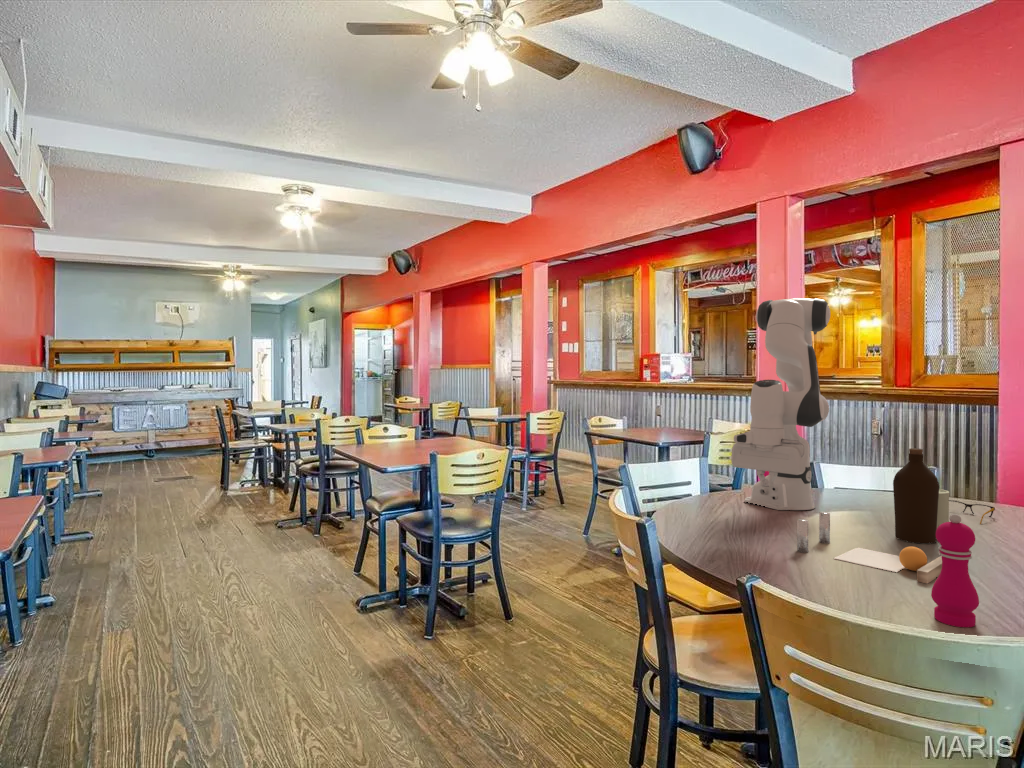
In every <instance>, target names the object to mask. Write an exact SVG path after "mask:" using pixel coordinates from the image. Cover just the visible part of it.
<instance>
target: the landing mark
mask: <svg viewBox="0 0 1024 768" xmlns="http://www.w3.org/2000/svg"><path fill="white" fill-rule="evenodd" d="M833 559H834V560H836V561H842V562H847V563H850V564H856V565H860V566H864V567H869V568H874V569H877V568H878V570H882V569H883V570H882V571H886V570H887V572H891V571H892V573H895V572H896V573H895V574H898V573H899V572H901V571H903V570H905V569H906V568H905V567H904V566H903V565H902V564H901V562H900V560H899V555H897V554H892V553H886V552H882V551H877V550H872V549H867V548H862V547H855V548H853V549H852V548H851V550H847V551H846V552H844V553H841V554H840V555H837V556H835V557H833ZM902 569H903V570H902ZM900 570H901V571H900Z"/></svg>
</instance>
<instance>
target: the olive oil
mask: <svg viewBox="0 0 1024 768" xmlns="http://www.w3.org/2000/svg"><path fill="white" fill-rule="evenodd" d="M923 453H924V449H922V448H918V447H917V448H916V447H914V448H913V447H912V448H909V449H908V462H907V463H906V464H905V465H904V466H903V467H901V468H900V469H899V470H898V471H897V472H896V473H895V474H894V478H893V479H892V480H893V481H892V489H893V490H892V492H893V504H894V507H893V508H894V529H895V530H894V535H895V536H894V537H895V538H896V539H897V538H898V540H900V541H903V542H906V541H908V542H907V543H912V542H914V544H920V543H931V544H935V543H937V539H936V530H937V513H938V498H939V489H940V482H939V480H938V477H937V475H936V474H935V473H933V471H932V470H931V469H930V468H928V466H927V465H925V464H924V454H923ZM934 542H935V543H934Z"/></svg>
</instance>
